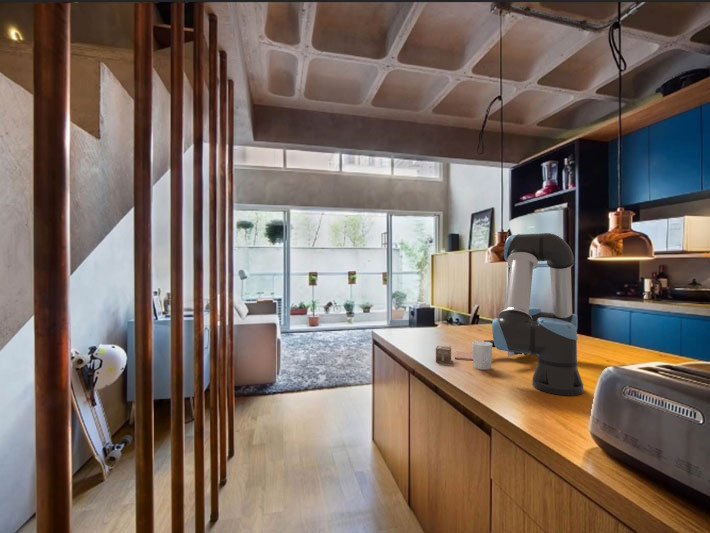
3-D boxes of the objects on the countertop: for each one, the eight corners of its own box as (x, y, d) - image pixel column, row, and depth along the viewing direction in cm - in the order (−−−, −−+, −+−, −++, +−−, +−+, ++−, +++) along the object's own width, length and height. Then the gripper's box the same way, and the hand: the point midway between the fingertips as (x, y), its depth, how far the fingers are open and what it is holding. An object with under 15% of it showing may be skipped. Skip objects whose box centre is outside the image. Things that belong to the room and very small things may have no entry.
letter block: (450, 363, 149) (449, 349, 149) (435, 362, 151) (435, 348, 151) (451, 359, 155) (451, 346, 155) (437, 358, 157) (437, 345, 157)
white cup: (468, 366, 145) (467, 342, 145) (481, 363, 148) (481, 340, 148) (482, 371, 138) (482, 346, 138) (496, 368, 141) (496, 344, 141)
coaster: (480, 361, 152) (480, 359, 152) (454, 359, 156) (454, 357, 156) (480, 354, 162) (480, 353, 162) (456, 353, 166) (456, 351, 166)
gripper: (548, 357, 150) (522, 365, 138) (496, 346, 170) (469, 352, 158) (548, 339, 150) (522, 346, 138) (496, 330, 170) (469, 336, 158)
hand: (493, 350), depth 148 cm, fingers open, 13 cm apart
